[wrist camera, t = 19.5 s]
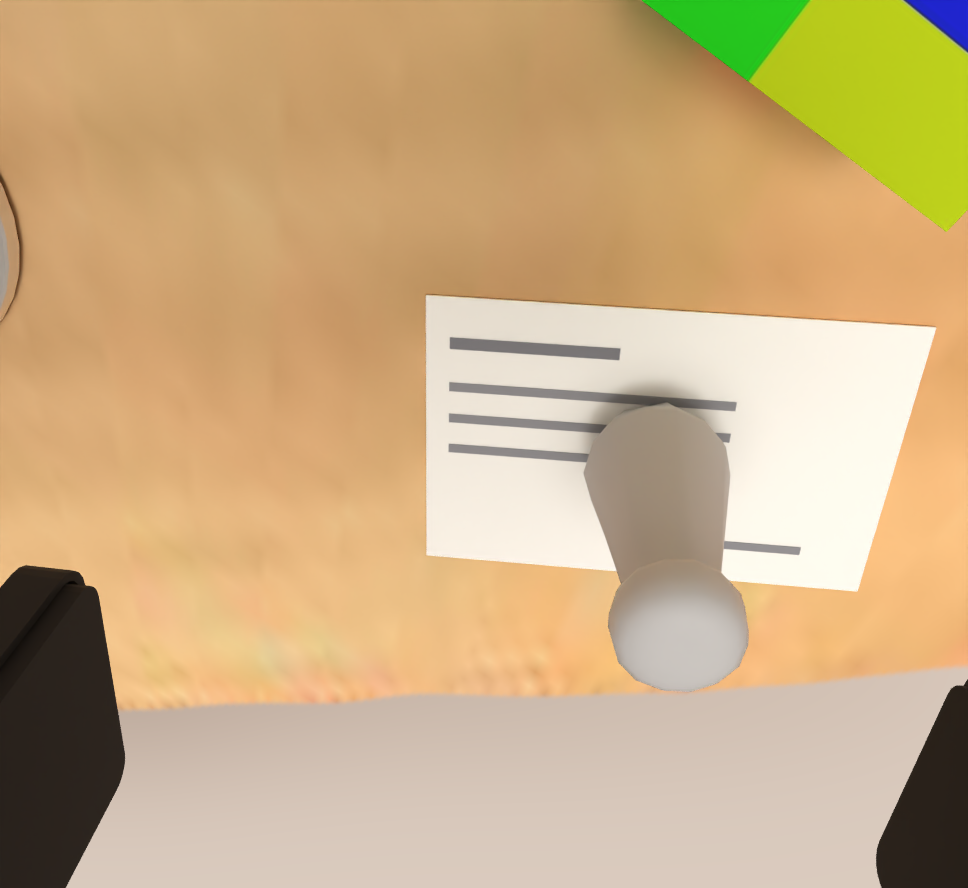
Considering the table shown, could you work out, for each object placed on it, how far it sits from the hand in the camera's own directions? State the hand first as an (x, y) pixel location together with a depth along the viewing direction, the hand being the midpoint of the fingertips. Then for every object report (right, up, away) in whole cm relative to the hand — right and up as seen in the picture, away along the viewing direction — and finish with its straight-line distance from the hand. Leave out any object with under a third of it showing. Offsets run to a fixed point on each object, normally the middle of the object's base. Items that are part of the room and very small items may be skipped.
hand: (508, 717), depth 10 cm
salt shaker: (+7, +3, +29) cm, 30 cm away
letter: (+7, +3, +29) cm, 30 cm away
